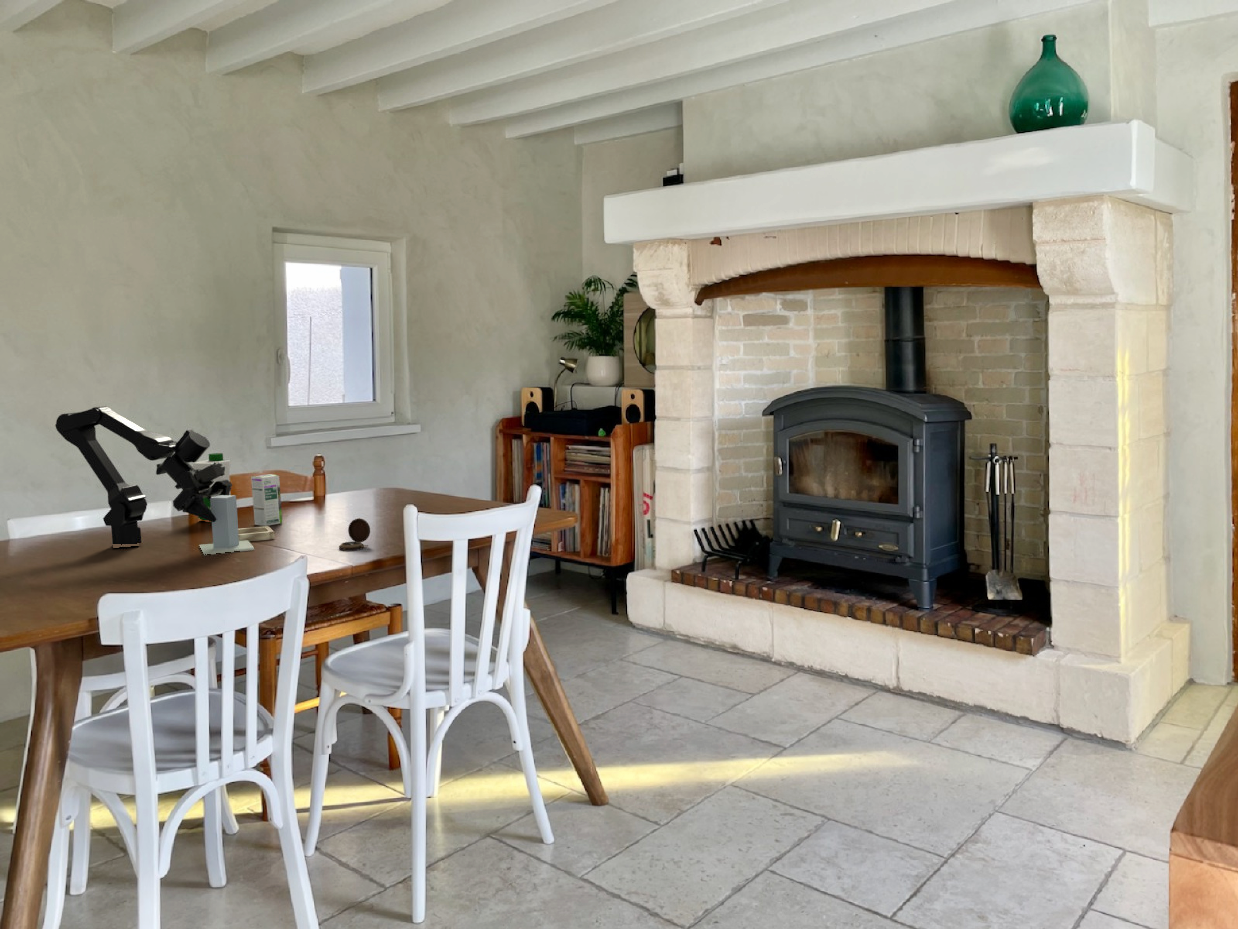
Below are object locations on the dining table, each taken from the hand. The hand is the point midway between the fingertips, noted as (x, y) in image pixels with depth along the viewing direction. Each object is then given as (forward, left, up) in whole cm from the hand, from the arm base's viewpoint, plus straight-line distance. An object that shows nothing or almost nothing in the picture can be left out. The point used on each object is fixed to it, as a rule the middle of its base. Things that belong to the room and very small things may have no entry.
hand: (225, 517), depth 258 cm
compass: (+29, -18, -8) cm, 35 cm away
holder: (+8, +12, -8) cm, 17 cm away
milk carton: (+2, +48, -8) cm, 49 cm away
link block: (0, 0, -7) cm, 8 cm away
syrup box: (+15, +32, -8) cm, 36 cm away
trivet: (0, 0, -8) cm, 8 cm away
